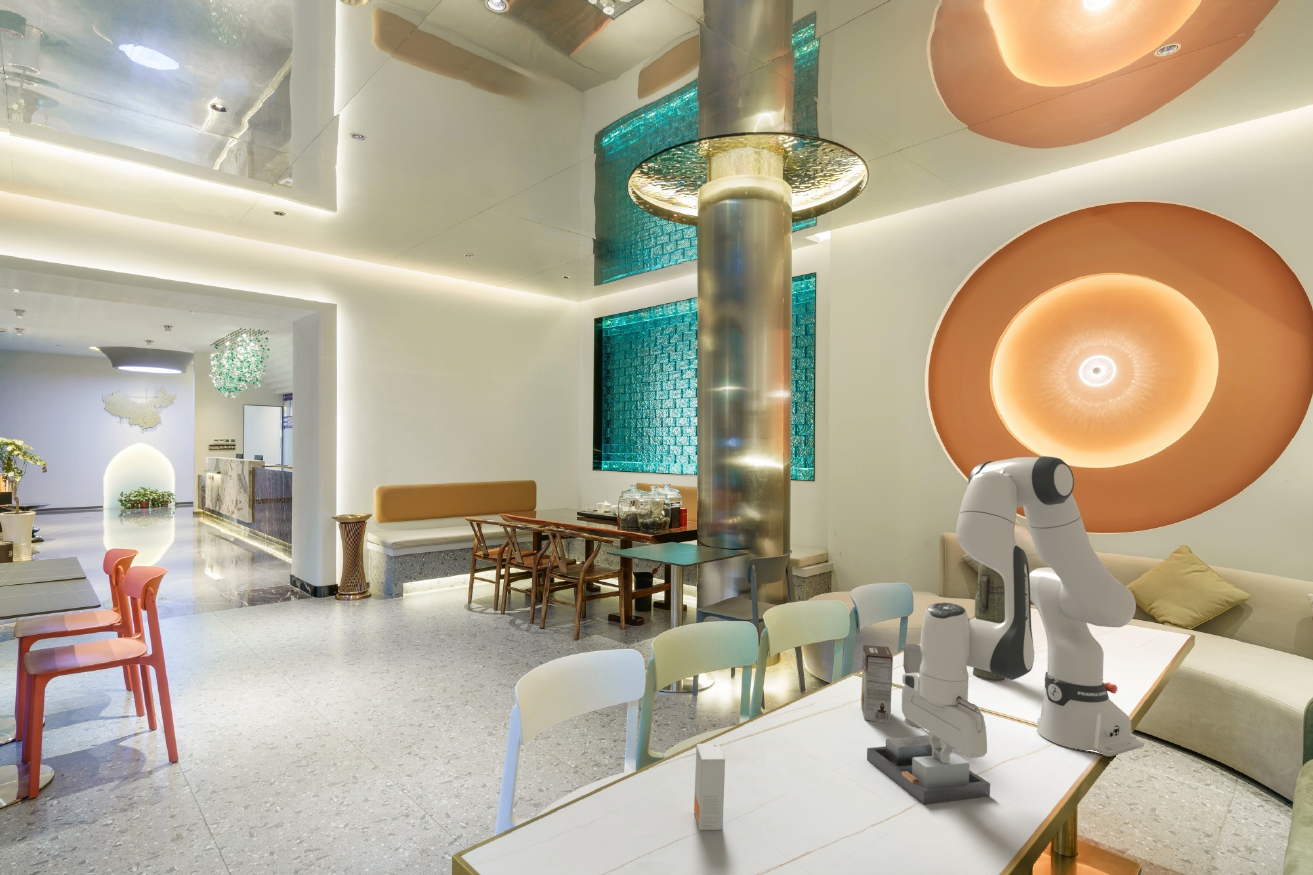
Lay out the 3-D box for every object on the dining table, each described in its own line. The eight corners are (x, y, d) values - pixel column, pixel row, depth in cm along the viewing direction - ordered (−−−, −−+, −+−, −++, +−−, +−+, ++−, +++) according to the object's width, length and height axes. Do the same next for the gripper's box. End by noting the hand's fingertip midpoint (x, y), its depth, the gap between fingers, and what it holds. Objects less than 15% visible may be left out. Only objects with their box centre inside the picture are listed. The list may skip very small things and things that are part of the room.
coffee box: (860, 706, 169) (862, 643, 170) (886, 709, 168) (888, 646, 168) (863, 720, 160) (866, 654, 161) (891, 723, 159) (894, 656, 159)
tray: (926, 753, 144) (927, 728, 144) (989, 795, 126) (990, 768, 127) (866, 759, 140) (867, 734, 140) (923, 804, 122) (924, 775, 122)
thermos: (1011, 675, 199) (1014, 559, 200) (998, 684, 191) (1002, 563, 192) (980, 668, 206) (983, 555, 206) (966, 676, 197) (970, 559, 198)
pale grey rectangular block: (954, 775, 132) (954, 753, 132) (968, 785, 128) (969, 762, 128) (911, 780, 130) (912, 757, 130) (925, 790, 126) (926, 767, 126)
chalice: (930, 719, 162) (932, 646, 163) (932, 730, 156) (934, 654, 156) (898, 714, 165) (901, 642, 165) (899, 725, 158) (902, 649, 159)
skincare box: (693, 811, 117) (695, 742, 117) (716, 811, 117) (719, 743, 117) (698, 831, 110) (701, 759, 111) (723, 830, 111) (726, 759, 111)
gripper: (997, 707, 120) (994, 784, 120) (922, 670, 140) (920, 736, 140) (968, 710, 118) (966, 787, 118) (897, 672, 138) (894, 738, 138)
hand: (940, 759), depth 129 cm, fingers closed
